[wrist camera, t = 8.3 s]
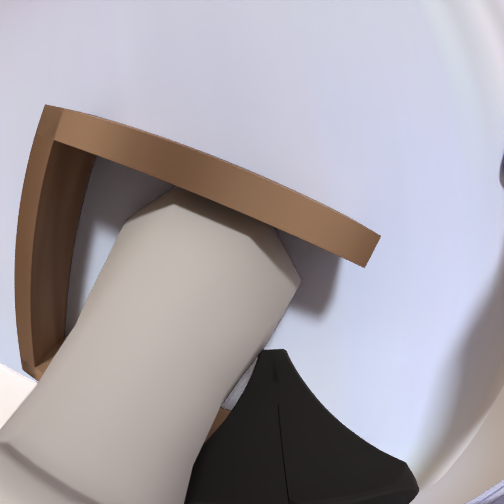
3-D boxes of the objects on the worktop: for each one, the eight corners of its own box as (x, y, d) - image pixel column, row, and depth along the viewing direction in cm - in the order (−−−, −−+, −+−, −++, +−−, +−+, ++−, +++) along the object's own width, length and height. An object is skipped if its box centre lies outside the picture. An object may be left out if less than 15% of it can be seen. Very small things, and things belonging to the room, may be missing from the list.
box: (348, 217, 10) (380, 236, 7) (230, 422, 13) (225, 465, 10) (90, 114, 9) (45, 104, 6) (51, 340, 12) (22, 369, 9)
